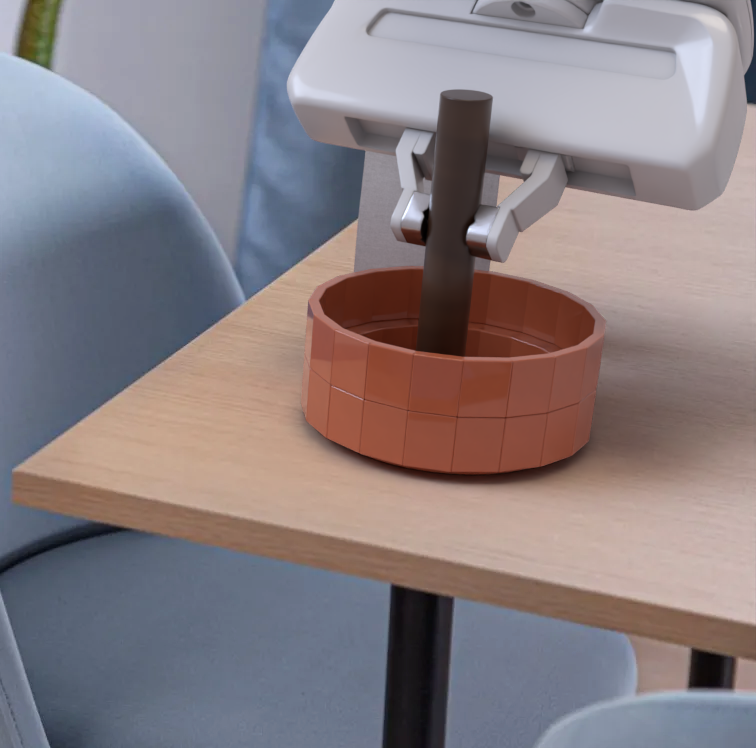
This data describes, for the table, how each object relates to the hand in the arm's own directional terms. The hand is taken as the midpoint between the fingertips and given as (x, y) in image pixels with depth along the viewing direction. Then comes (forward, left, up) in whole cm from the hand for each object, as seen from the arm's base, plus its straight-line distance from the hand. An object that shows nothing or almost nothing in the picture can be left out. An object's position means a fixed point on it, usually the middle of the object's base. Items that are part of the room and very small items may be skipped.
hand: (446, 245), depth 76 cm
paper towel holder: (-1, 0, -8) cm, 8 cm away
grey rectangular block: (-6, -12, -9) cm, 16 cm away
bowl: (-1, 0, -9) cm, 9 cm away
